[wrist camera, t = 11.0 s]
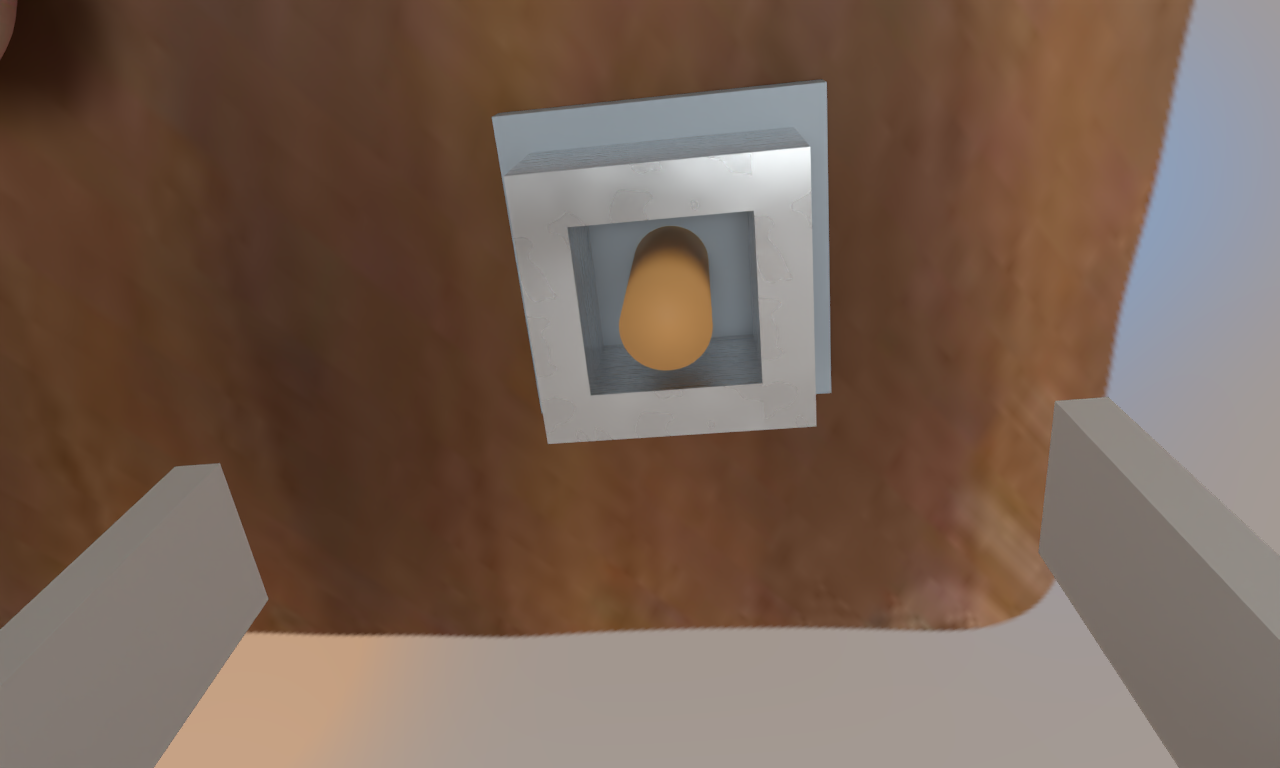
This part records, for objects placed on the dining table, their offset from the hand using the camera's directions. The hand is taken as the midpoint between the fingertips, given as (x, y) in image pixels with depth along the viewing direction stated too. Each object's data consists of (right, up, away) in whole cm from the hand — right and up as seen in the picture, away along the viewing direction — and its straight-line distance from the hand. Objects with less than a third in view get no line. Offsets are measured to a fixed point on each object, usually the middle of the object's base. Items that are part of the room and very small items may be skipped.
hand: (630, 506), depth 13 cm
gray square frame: (+1, +6, +14) cm, 15 cm away
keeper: (+1, +6, +14) cm, 16 cm away
